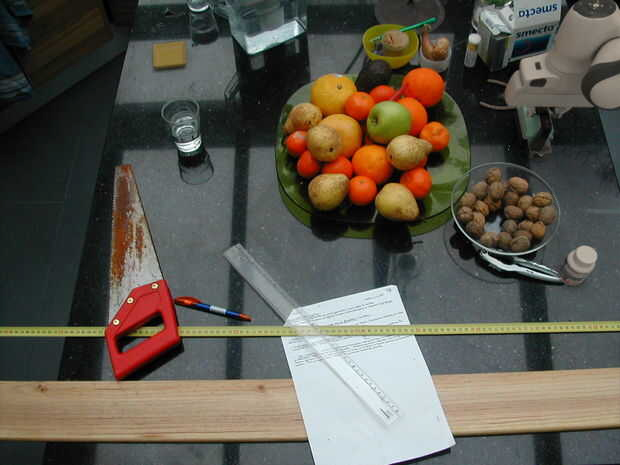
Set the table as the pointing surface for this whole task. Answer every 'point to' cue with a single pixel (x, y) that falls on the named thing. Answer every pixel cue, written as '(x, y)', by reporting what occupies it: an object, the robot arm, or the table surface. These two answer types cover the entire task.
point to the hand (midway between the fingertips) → (542, 115)
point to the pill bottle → (577, 265)
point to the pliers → (505, 106)
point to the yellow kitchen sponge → (169, 54)
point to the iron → (534, 133)
